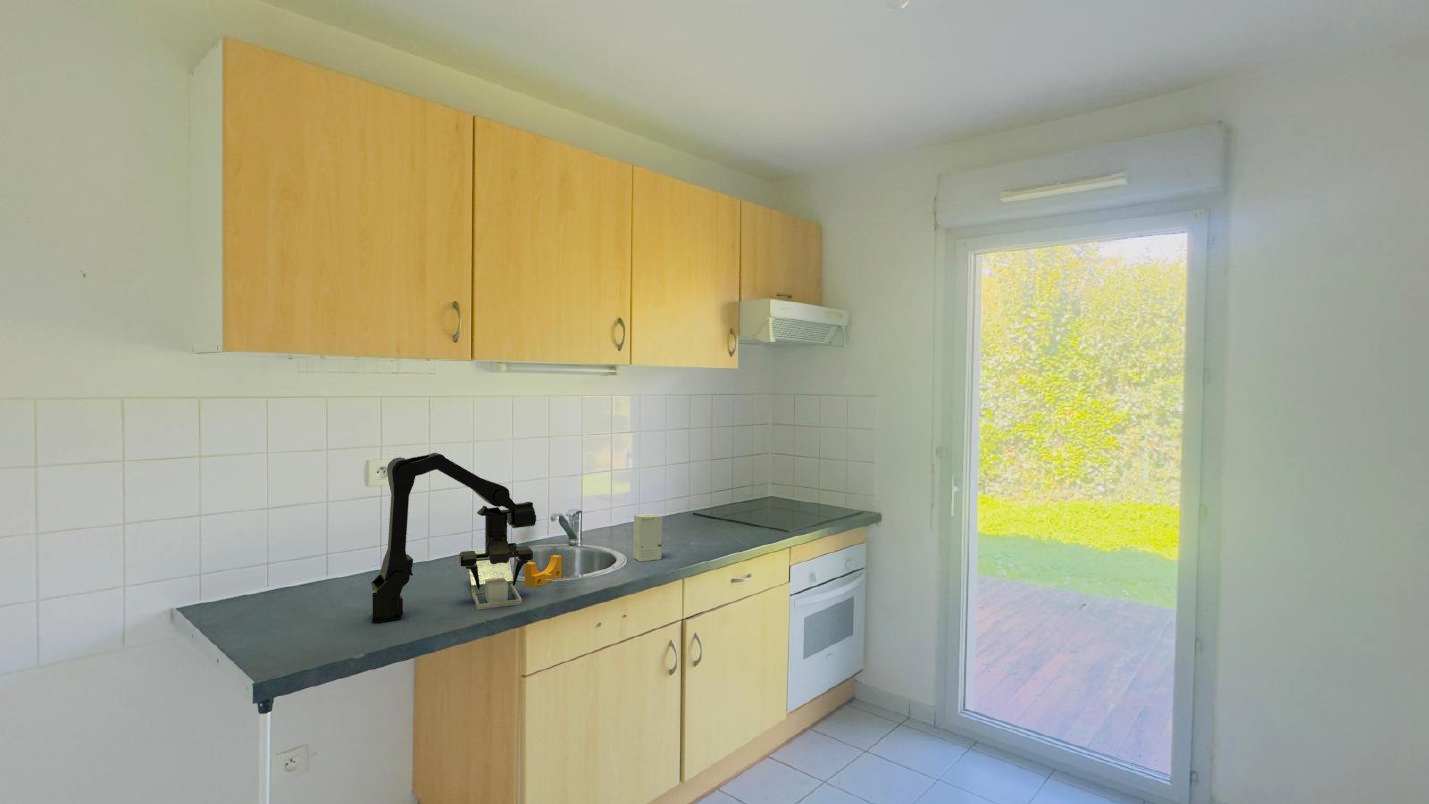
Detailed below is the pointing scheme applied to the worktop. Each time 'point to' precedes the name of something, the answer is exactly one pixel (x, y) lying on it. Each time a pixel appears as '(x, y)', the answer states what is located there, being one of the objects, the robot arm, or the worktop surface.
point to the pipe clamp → (538, 578)
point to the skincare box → (647, 537)
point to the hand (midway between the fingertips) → (496, 587)
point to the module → (496, 590)
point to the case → (489, 572)
